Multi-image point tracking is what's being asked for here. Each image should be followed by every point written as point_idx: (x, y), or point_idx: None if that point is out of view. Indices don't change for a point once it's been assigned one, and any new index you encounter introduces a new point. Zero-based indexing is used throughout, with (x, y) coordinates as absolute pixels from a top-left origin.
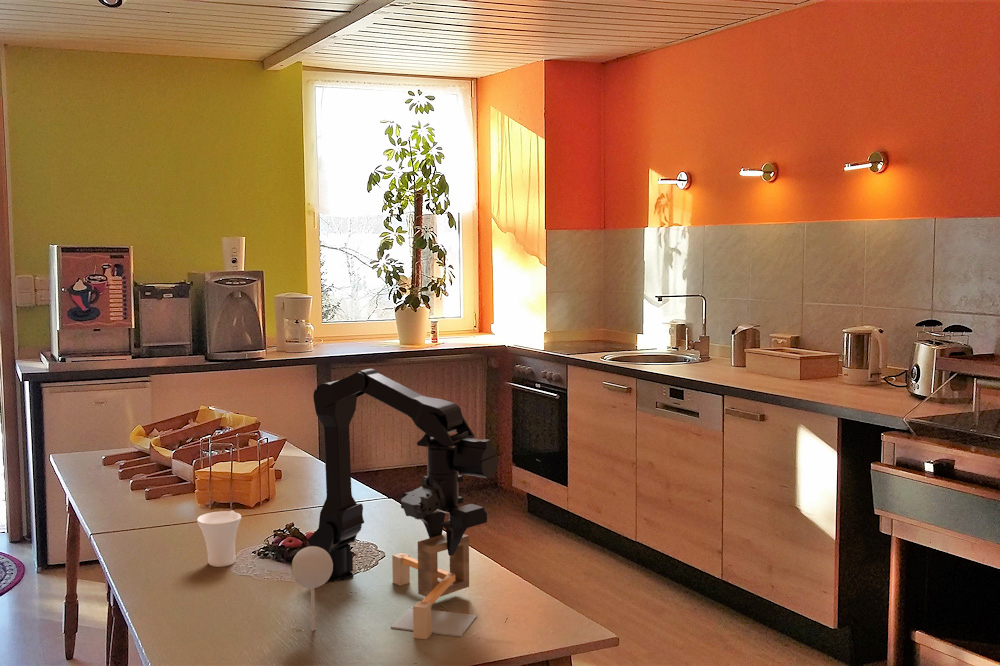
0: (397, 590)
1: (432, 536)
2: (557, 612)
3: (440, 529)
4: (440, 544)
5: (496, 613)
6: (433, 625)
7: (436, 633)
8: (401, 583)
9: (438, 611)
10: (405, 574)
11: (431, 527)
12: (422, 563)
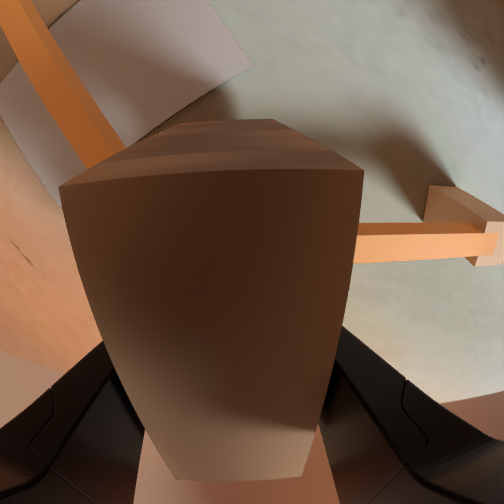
0: (412, 152)
1: (340, 377)
2: (27, 347)
3: (335, 460)
4: (97, 314)
5: (60, 261)
6: (70, 52)
7: None
8: (431, 192)
9: (149, 124)
10: (442, 218)
11: (377, 450)
12: (245, 134)
